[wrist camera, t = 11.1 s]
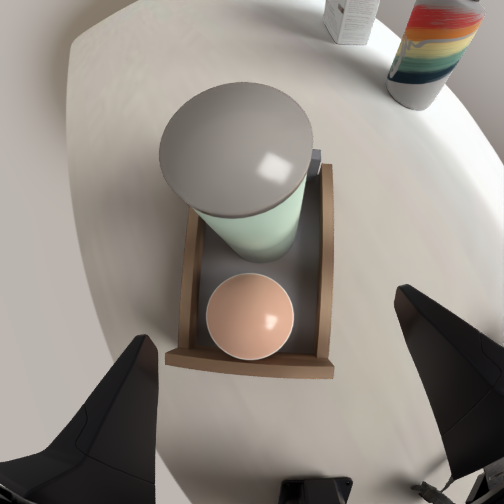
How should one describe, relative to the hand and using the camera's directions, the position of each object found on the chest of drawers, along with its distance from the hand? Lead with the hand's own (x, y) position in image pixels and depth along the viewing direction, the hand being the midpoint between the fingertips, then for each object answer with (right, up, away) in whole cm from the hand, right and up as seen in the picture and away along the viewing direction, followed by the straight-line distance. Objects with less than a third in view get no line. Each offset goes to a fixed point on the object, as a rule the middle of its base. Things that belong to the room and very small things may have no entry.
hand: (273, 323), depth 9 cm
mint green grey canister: (0, +4, +13) cm, 13 cm away
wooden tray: (0, +1, +13) cm, 13 cm away
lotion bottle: (+17, +20, +15) cm, 30 cm away
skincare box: (+11, +30, +17) cm, 36 cm away
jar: (0, -2, +12) cm, 12 cm away
